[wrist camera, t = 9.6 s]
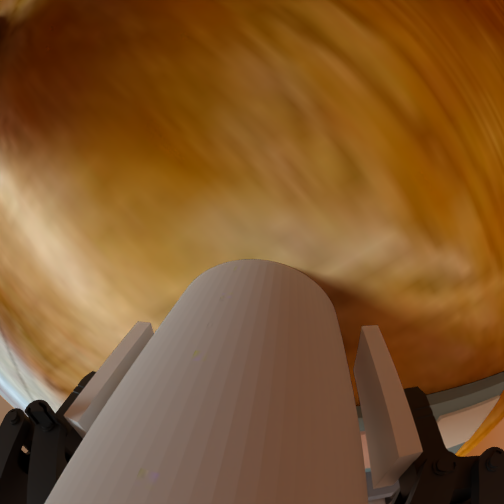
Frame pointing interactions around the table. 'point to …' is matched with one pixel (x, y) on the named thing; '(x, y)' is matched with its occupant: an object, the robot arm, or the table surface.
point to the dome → (377, 501)
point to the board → (446, 421)
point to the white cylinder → (230, 403)
